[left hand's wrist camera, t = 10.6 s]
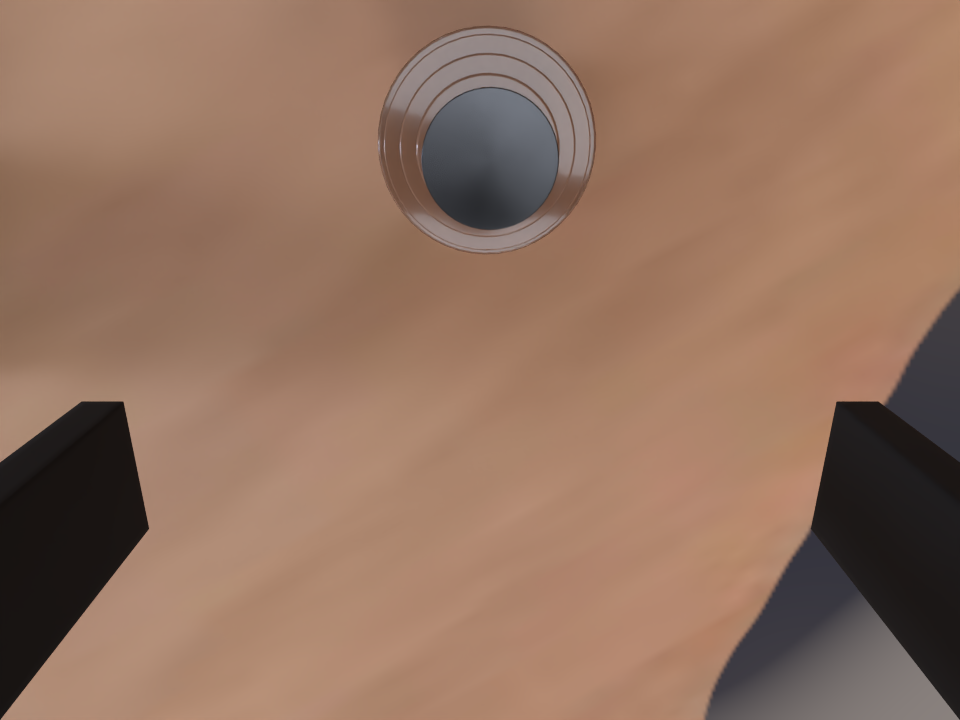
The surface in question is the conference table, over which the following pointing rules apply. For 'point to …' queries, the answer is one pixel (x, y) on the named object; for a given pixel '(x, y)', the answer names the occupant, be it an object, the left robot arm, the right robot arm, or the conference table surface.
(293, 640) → the conference table surface
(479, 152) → the cap
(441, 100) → the bottle
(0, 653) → the left robot arm
